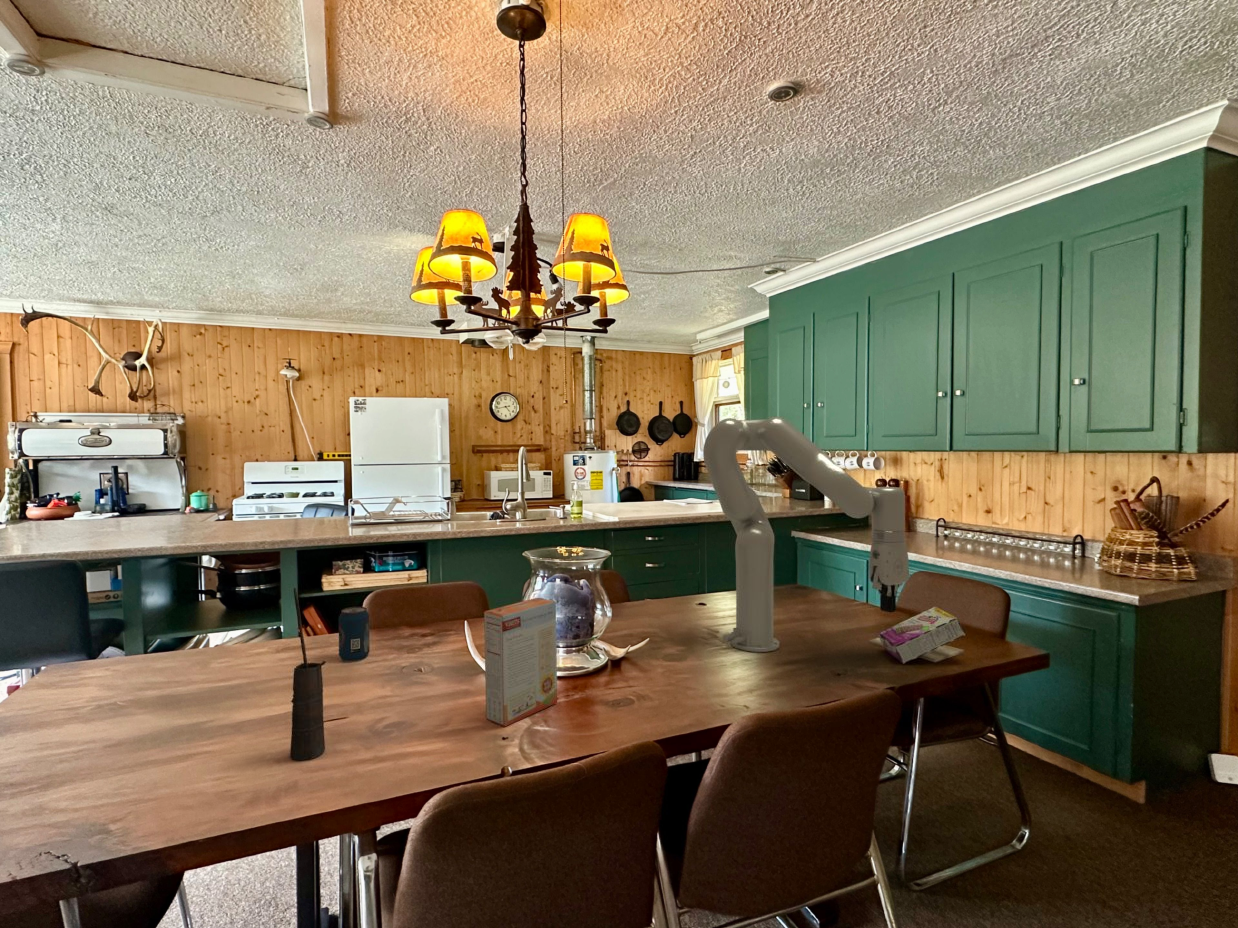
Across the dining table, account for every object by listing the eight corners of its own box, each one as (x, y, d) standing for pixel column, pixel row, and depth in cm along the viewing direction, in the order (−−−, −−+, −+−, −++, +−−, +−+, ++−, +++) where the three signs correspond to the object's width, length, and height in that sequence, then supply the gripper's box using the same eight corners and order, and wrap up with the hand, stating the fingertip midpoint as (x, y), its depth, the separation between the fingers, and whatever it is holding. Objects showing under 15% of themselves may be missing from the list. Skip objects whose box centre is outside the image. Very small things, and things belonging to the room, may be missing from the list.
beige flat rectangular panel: (935, 662, 148) (935, 659, 148) (868, 642, 163) (868, 640, 163) (964, 652, 155) (964, 650, 155) (898, 634, 170) (898, 632, 170)
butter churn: (351, 736, 109) (350, 580, 109) (335, 763, 100) (333, 592, 99) (296, 740, 108) (294, 581, 107) (274, 768, 98) (272, 594, 98)
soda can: (338, 655, 152) (337, 607, 152) (368, 651, 156) (367, 604, 155) (339, 664, 146) (339, 614, 146) (370, 660, 149) (370, 611, 149)
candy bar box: (876, 632, 157) (934, 605, 157) (884, 649, 157) (943, 622, 157) (894, 645, 146) (958, 616, 145) (903, 664, 146) (967, 636, 145)
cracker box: (537, 696, 127) (537, 595, 127) (558, 703, 123) (558, 600, 123) (483, 719, 116) (482, 609, 116) (504, 728, 113) (503, 614, 112)
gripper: (883, 541, 144) (882, 618, 145) (920, 536, 152) (920, 609, 153) (855, 537, 151) (855, 611, 151) (892, 533, 159) (892, 603, 159)
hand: (887, 610), depth 152 cm, fingers closed
